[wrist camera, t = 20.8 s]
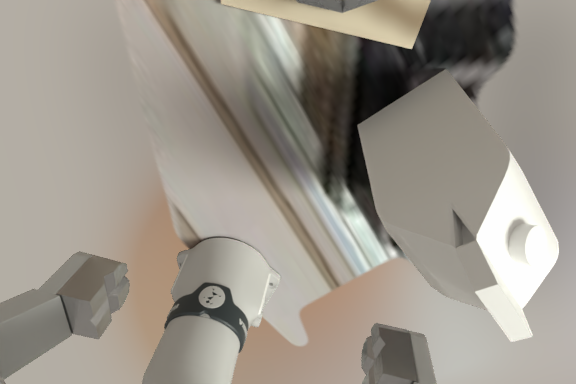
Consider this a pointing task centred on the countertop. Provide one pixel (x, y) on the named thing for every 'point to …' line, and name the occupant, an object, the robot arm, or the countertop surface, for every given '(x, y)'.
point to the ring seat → (349, 16)
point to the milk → (458, 201)
